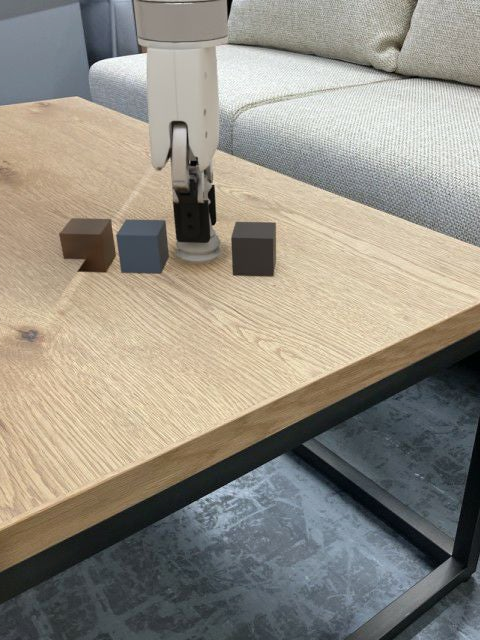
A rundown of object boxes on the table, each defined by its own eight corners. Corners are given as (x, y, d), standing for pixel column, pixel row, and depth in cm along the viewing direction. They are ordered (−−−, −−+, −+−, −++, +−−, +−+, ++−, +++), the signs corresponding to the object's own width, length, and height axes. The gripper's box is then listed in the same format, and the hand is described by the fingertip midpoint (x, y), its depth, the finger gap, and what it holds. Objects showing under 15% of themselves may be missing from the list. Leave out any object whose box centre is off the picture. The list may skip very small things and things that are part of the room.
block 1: (66, 271, 69) (58, 233, 67) (78, 254, 72) (71, 217, 70) (106, 272, 69) (100, 234, 66) (116, 255, 72) (111, 218, 70)
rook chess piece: (178, 247, 71) (171, 169, 67) (221, 246, 71) (218, 168, 67) (175, 266, 67) (167, 184, 63) (221, 264, 68) (217, 183, 63)
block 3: (232, 275, 68) (231, 237, 66) (237, 258, 71) (235, 221, 69) (273, 276, 68) (273, 238, 66) (276, 259, 71) (276, 222, 69)
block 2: (121, 273, 69) (115, 234, 66) (130, 256, 72) (125, 219, 70) (161, 274, 68) (157, 235, 66) (169, 257, 72) (165, 219, 70)
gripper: (157, 10, 65) (174, 202, 75) (111, 38, 51) (139, 268, 61) (238, 10, 64) (244, 203, 75) (213, 39, 51) (225, 270, 61)
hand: (197, 230), depth 68 cm, fingers closed on rook chess piece, 3 cm apart
